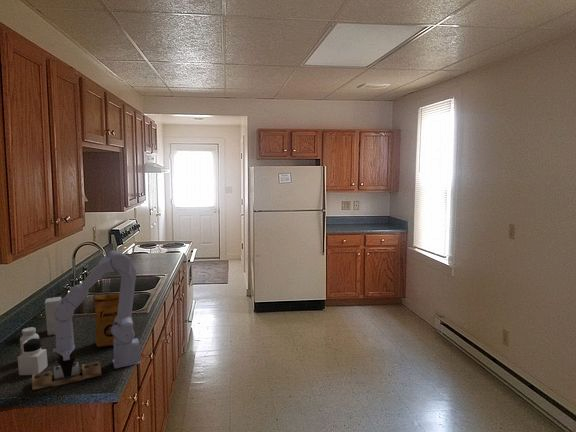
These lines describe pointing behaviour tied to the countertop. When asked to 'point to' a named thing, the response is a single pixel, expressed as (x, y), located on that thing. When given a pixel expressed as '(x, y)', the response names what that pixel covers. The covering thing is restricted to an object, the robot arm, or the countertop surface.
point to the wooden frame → (46, 378)
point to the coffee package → (105, 318)
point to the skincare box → (51, 314)
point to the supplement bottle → (28, 335)
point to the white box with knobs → (59, 373)
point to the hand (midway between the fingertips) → (67, 371)
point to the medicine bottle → (32, 358)
